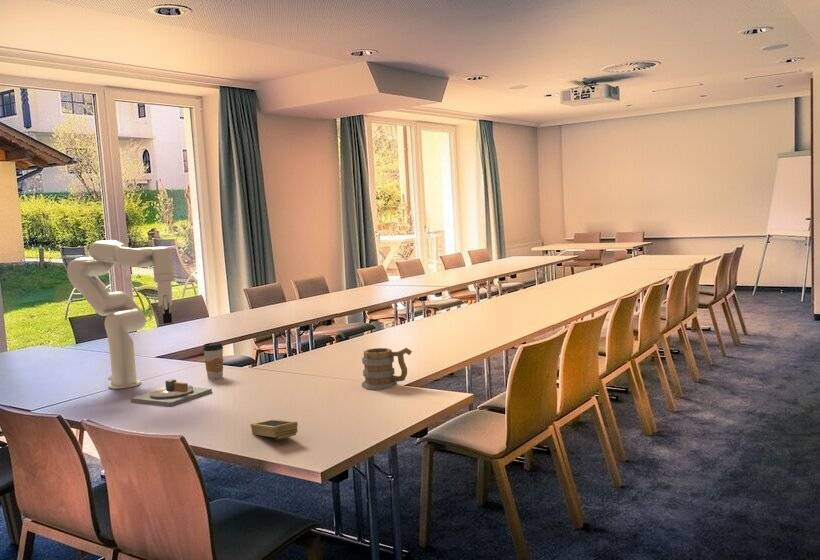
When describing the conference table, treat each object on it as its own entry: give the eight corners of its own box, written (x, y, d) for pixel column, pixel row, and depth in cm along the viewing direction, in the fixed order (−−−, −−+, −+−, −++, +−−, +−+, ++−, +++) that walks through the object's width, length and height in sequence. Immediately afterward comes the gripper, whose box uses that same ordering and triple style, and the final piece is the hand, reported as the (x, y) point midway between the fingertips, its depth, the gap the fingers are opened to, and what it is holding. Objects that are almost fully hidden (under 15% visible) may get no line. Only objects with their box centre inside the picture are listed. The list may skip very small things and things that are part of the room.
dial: (140, 396, 265) (139, 383, 264) (174, 386, 278) (173, 374, 278) (170, 399, 256) (169, 387, 256) (203, 389, 270) (202, 377, 270)
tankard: (358, 389, 265) (355, 350, 263) (370, 381, 277) (368, 344, 275) (407, 391, 258) (405, 351, 257) (417, 383, 270) (416, 345, 269)
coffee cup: (210, 381, 292) (207, 346, 291) (202, 378, 299) (199, 344, 297) (228, 377, 298) (226, 343, 296) (220, 375, 304) (217, 341, 303)
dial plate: (131, 402, 263) (130, 397, 263) (173, 389, 282) (172, 384, 282) (171, 406, 253) (170, 401, 253) (211, 392, 272) (211, 388, 272)
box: (275, 444, 198) (273, 426, 199) (246, 439, 217) (244, 423, 217) (301, 438, 203) (299, 421, 203) (270, 434, 221) (268, 418, 222)
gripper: (155, 277, 285) (158, 321, 286) (153, 279, 270) (157, 326, 272) (174, 276, 287) (177, 320, 288) (173, 278, 272) (177, 324, 274)
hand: (167, 322), depth 280 cm, fingers closed
